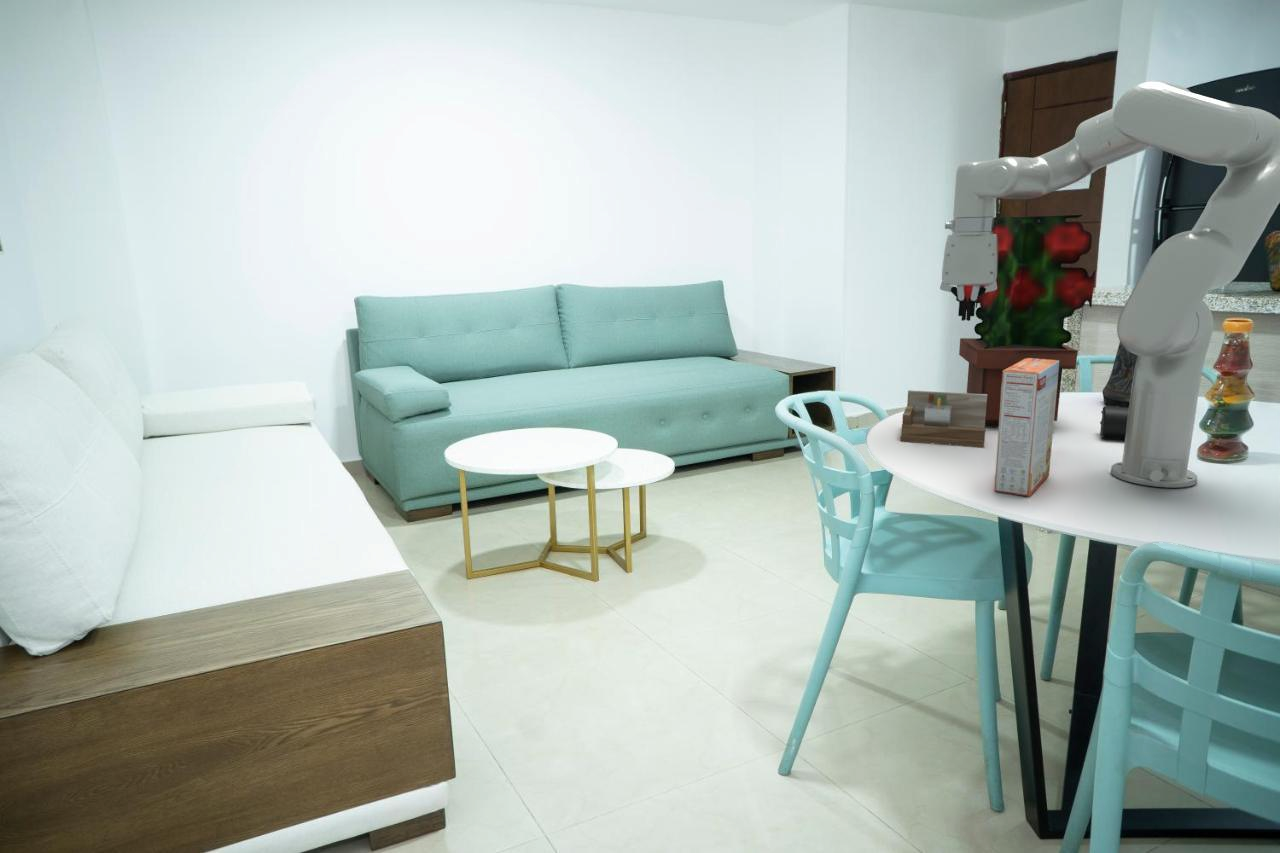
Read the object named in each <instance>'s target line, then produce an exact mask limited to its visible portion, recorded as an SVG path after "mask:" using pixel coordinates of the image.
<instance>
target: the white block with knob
mask: <svg viewBox="0 0 1280 853" xmlns="http://www.w3.org/2000/svg"><path fill="white" fill-rule="evenodd" d="M940 403H941V398H938V402H937V404H926V407H925V417H924V426H935V427H950V420H951V406H952V405H940Z"/></svg>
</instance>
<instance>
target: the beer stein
mask: <svg viewBox="0 0 1280 853" xmlns="http://www.w3.org/2000/svg"><path fill="white" fill-rule="evenodd" d="M1137 358H1138V355H1136V354H1133V353H1131V352H1129V351H1128V350H1127V349H1125V348H1124V346H1123V345H1122V344H1121V342H1120V341H1119V343H1118V346H1117V351H1116V355H1115V358H1114V361H1113V365H1112V370H1111V372H1110V375H1109V379H1108V380H1107V382H1106V384H1105V386H1104V388H1103V389H1102V398H1103V404H1104V406H1105V405H1106V406H1109V405H1110V406H1119V407H1123V408H1129V404H1130V396H1131V388H1132V382H1133V375H1134V370H1135V365H1136V361H1137Z"/></svg>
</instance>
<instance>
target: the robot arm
mask: <svg viewBox="0 0 1280 853" xmlns="http://www.w3.org/2000/svg"><path fill="white" fill-rule="evenodd" d="M1151 148H1154V149H1157V150H1160V151H1164V152H1166V153H1169V154H1172V155H1174V156H1177V157H1181V158H1183V159H1185V160H1188V161H1191V162H1195V163H1198V164H1203V165H1207V166H1219V167H1220V166H1221V167H1226V169H1227V170H1226V174H1225V177H1224V178H1223V180H1222V181H1221V183H1220V184H1219V185H1218V186H1217V188H1216V189H1215V191H1214V192H1213V193H1212V194H1211V196H1210V197H1209V199H1208V201H1207V203H1206V206H1205V208H1204V210H1203V211H1202V213H1201V214H1200V217H1198V220H1197V221H1196V223H1195V224H1194V226H1193V227H1192V228H1191V230H1187V231H1182V232H1180V233H1179V232H1178V233H1176V234H1174V235H1172V236H1171V237H1169V238H1168V239H1166V240H1164V241H1163V242H1162V243H1161V244H1160V245H1159V246H1158V247H1157V248H1156V249H1155V251H1154V252H1153V253H1152V255H1151V256H1150V258H1149V260H1148V261H1147V264H1146V265H1145V266H1144V269H1143V270H1142V272H1141V274H1140V276H1139V278H1138V280H1137V282H1136V283H1135V285H1134V287H1133V289H1132V291H1131V292H1130V295H1129V297H1128V298H1127V301H1126V302H1125V304H1124V306H1123V308H1122V310H1121V311H1120V313H1119V317H1118V320H1117V324H1116V332H1117V333H1116V334H1117V338H1118V340H1119V343H1120V342H1121V344H1122V345H1123V346H1124V348H1125V349H1127V350H1128V351H1129V352H1131V353H1133V354H1136V355H1138V358H1137V361H1136V365H1135V370H1134V375H1133V382H1132V388H1131V396H1130V404H1129V412H1128V420H1127V428H1126V436H1125V440H1124V446H1123V454H1122V460H1121V461H1119V462H1115V463H1114V464H1112V465H1111V467H1110V473H1111V474H1112V476H1114V477H1115V478H1118V479H1120V480H1122V481H1125V482H1129V483H1133V484H1136V485H1141V486H1149V487H1155V488H1166V489H1167V488H1168V489H1170V488H1173V489H1174V488H1175V489H1176V488H1177V489H1179V488H1181V489H1182V488H1187V487H1191V486H1194V485H1196V484H1197V482H1198V476H1197V473H1195V472H1193V471H1191V470H1190V469H1189V468H1188V467H1189V460H1190V454H1191V448H1192V443H1193V442H1192V440H1193V434H1194V428H1195V427H1194V426H1195V420H1196V414H1197V406H1198V400H1199V394H1200V388H1201V381H1202V374H1203V370H1204V364H1205V361H1206V357H1207V353H1208V349H1209V346H1210V342H1211V340H1212V336H1213V331H1214V317H1213V313H1212V311H1211V308H1210V307H1209V305H1208V304H1207V303H1206V302H1205V301H1204V299H1205V298H1206V296H1207V294H1208V293H1209V291H1214V290H1217V289H1220V288H1223V287H1225V286H1227V285H1228V284H1230V283H1231V282H1233V281H1234V280H1235V279H1236V278H1237V276H1238V275H1239V274H1240V273H1241V271H1242V268H1243V267H1244V265H1245V264H1246V261H1247V260H1248V258H1249V256H1250V254H1251V252H1252V250H1253V249H1254V247H1255V246H1256V244H1257V243H1258V241H1259V239H1260V237H1261V236H1262V234H1263V232H1264V231H1265V229H1266V227H1267V225H1268V223H1269V221H1270V219H1271V218H1272V216H1273V215H1274V213H1275V211H1276V209H1277V208H1278V206H1279V204H1280V118H1278V117H1277V116H1276V115H1274V114H1272V113H1271V112H1269V111H1266V110H1263V109H1261V108H1258V107H1257V108H1256V107H1251V106H1248V105H1247V106H1244V105H1240V104H1236V103H1230V102H1228V101H1223V100H1219V99H1216V98H1212V97H1209V96H1205V95H1201V94H1198V93H1194V92H1191V91H1190V90H1189V88H1187V87H1185V86H1182V85H1179V84H1175V83H1171V82H1164V81H1160V80H1148V81H1144V82H1142V83H1138V84H1136V85H1134V86H1133V87H1131V88H1128V90H1127V91H1126V92H1125V93H1123V94H1122V95H1121V96H1120V97H1119V99H1118V100H1117V102H1116V104H1115V106H1114V107H1113V108H1110V109H1109V110H1106V111H1103V112H1102V113H1099V114H1097V115H1095V116H1093V117H1090V118H1088V119H1086V120H1084V121H1082V122H1080V124H1078V126H1077V128H1076V130H1075V134H1074V137H1073V138H1072V139H1071V140H1069V141H1068V142H1066V143H1065V144H1063V145H1061V146H1058V147H1057V148H1054V149H1052V150H1050V151H1048V152H1045V153H1043V154H1041V155H1039V156H1035V157H1026V156H1025V157H1024V156H1004V157H1000V158H996V159H995V158H994V159H992V160H985V161H984V160H983V161H982V160H981V161H969V162H964V163H961V164H959V166H958V167H957V169H956V173H955V184H954V185H955V187H954V188H955V189H954V200H953V201H954V204H953V214H952V215H953V218H952V220H949V221H945V222H944V229H945V230H950V231H951V234H948V235H947V238H946V241H945V246H944V251H943V252H944V253H943V259H942V260H943V261H942V270H941V283H940V286H939V290H941V291H944V292H947V293H948V292H949V293H952V294H953V296H955V298H956V297H957V298H958V300H959V302H958V314H957V315H958V316H957V317H961V321H967V322H969V321H971V317H975V314H976V313H975V312H976V303H975V300H976V299H977V298H979V297H980V296H981V295H982V294H983V293H985V292H990V291H994V290H997V282H996V278H997V270H998V239H997V234H993V226H994V217H995V212H996V200H997V199H1001V200H1003V199H1004V200H1017V199H1019V200H1030V199H1031V200H1032V199H1035V198H1040V197H1043V196H1045V195H1048V194H1050V193H1053V192H1055V191H1059V190H1060V189H1063V188H1066V187H1068V186H1071V185H1073V184H1076V183H1077V182H1079V181H1081V180H1082V179H1084V178H1086V177H1088V176H1089V175H1091V174H1093V173H1095V172H1096V171H1098V169H1101V168H1104V167H1107V166H1108V165H1111V164H1113V163H1116V162H1119V161H1120V160H1123V159H1126V158H1128V157H1131V156H1134V155H1136V154H1138V153H1140V152H1144V151H1146V150H1148V149H1149V150H1150V149H1151ZM964 285H973V290H972V294H971V296H970V297H969V300H968V303H967V300H966V296H965V293H964ZM980 285H987V286H983V287H981V288H980Z"/></svg>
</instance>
